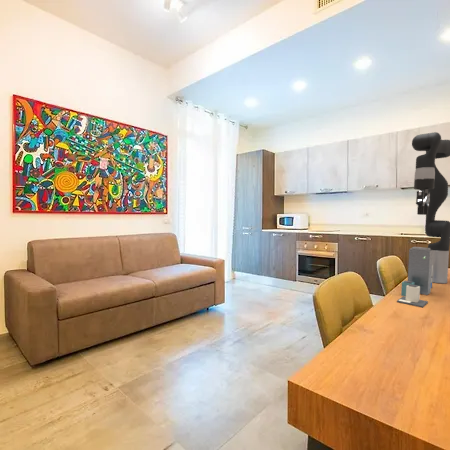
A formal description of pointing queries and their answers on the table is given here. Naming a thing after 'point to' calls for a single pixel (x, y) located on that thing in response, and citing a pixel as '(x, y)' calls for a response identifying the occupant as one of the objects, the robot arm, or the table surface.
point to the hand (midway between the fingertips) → (422, 214)
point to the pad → (419, 304)
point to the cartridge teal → (404, 284)
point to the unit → (420, 268)
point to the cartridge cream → (413, 293)
